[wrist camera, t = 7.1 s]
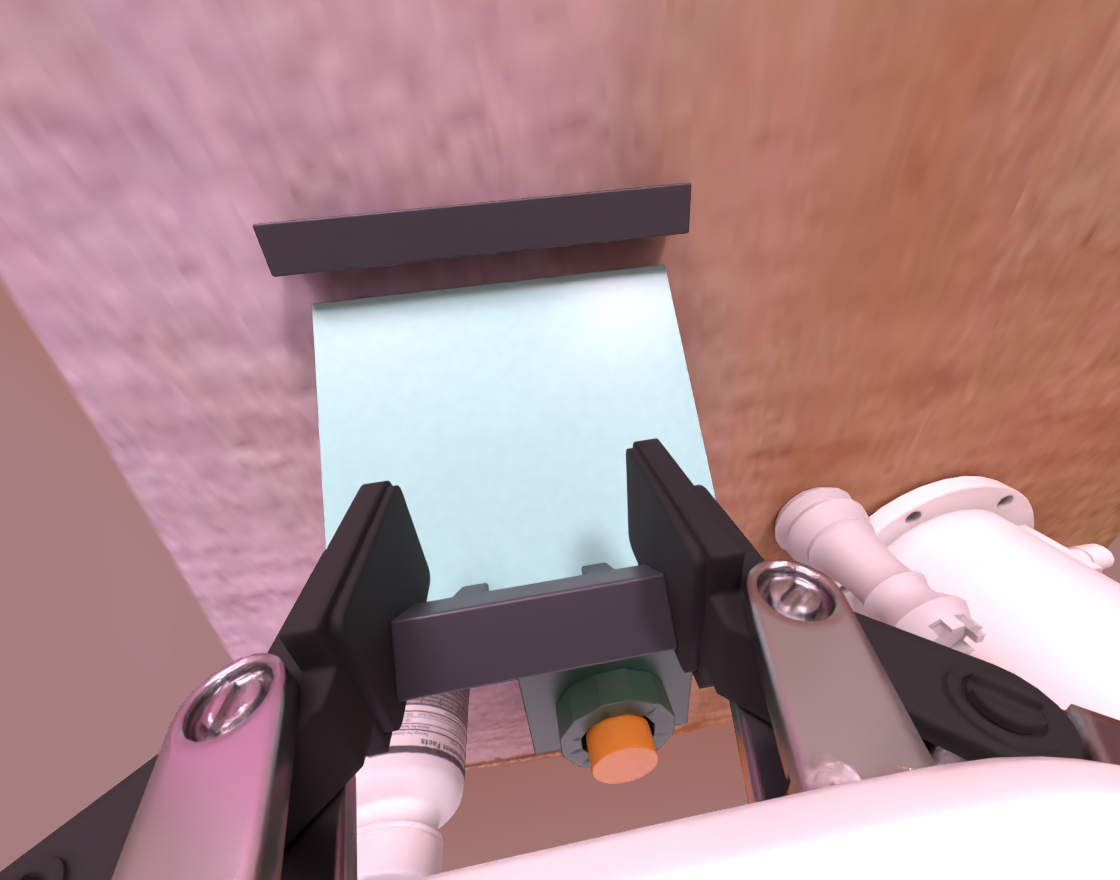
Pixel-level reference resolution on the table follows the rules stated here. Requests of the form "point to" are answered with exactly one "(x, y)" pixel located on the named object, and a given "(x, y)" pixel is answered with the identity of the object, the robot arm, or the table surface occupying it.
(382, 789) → the pill bottle
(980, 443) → the table surface
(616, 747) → the button
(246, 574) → the table surface
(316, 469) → the table surface
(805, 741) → the robot arm
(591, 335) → the pale blue flat panel
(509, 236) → the bar
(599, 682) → the button box
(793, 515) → the rook chess piece
